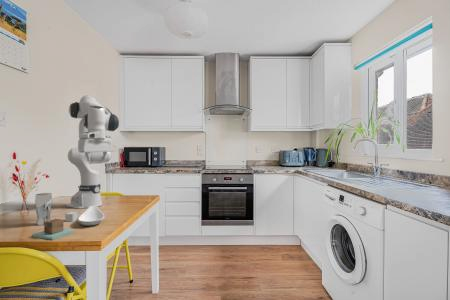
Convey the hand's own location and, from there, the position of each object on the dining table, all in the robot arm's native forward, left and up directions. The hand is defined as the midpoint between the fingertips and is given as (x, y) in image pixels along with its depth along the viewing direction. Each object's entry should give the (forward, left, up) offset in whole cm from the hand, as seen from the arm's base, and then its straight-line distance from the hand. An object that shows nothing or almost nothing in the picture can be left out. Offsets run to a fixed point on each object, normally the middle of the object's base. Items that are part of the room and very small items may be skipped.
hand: (96, 160), depth 138 cm
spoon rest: (+3, -6, -32) cm, 33 cm away
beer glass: (-16, -17, -32) cm, 40 cm away
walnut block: (+5, -27, -30) cm, 41 cm away
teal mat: (+5, -27, -31) cm, 42 cm away
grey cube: (-8, -8, -32) cm, 34 cm away
